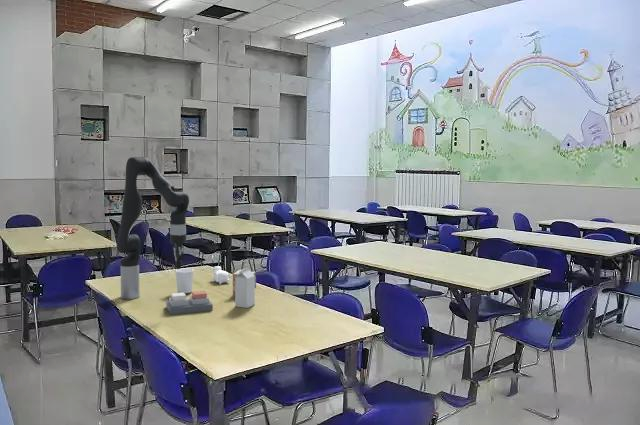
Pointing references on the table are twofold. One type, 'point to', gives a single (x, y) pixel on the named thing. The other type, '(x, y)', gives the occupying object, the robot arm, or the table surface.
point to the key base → (189, 306)
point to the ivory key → (178, 296)
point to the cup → (184, 280)
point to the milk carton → (245, 289)
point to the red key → (199, 295)
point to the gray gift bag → (234, 280)
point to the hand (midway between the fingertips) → (178, 268)
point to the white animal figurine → (220, 275)
